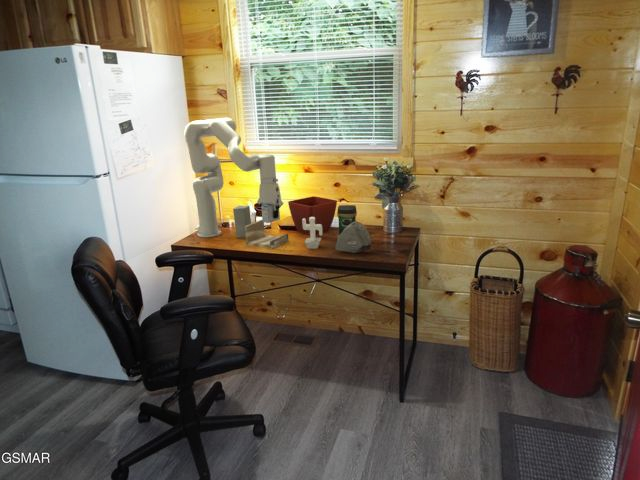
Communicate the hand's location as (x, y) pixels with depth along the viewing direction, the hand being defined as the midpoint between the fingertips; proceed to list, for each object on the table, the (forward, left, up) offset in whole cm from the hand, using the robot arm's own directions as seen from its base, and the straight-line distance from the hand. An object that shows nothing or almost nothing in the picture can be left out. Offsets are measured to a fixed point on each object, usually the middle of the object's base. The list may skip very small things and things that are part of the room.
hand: (271, 217), depth 229 cm
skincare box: (-22, +5, -14) cm, 27 cm away
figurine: (+22, +3, -14) cm, 26 cm away
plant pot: (+8, +27, -14) cm, 31 cm away
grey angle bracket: (-3, 0, -14) cm, 14 cm away
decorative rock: (+43, +4, -14) cm, 45 cm away
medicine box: (0, 0, -2) cm, 2 cm away
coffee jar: (+33, +18, -14) cm, 40 cm away
